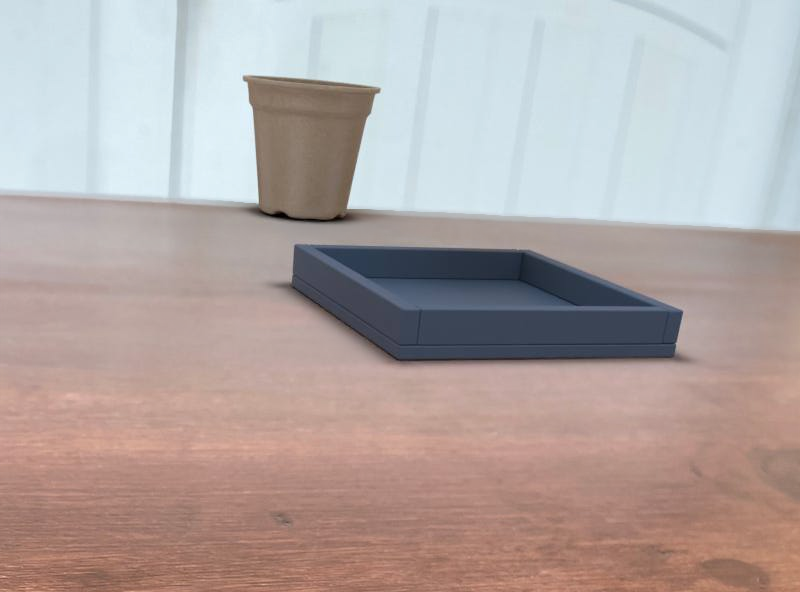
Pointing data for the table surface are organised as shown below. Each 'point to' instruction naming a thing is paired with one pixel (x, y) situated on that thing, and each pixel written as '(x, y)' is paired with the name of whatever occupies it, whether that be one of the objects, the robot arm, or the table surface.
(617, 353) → the candle dish
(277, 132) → the flower pot
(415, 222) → the table surface
